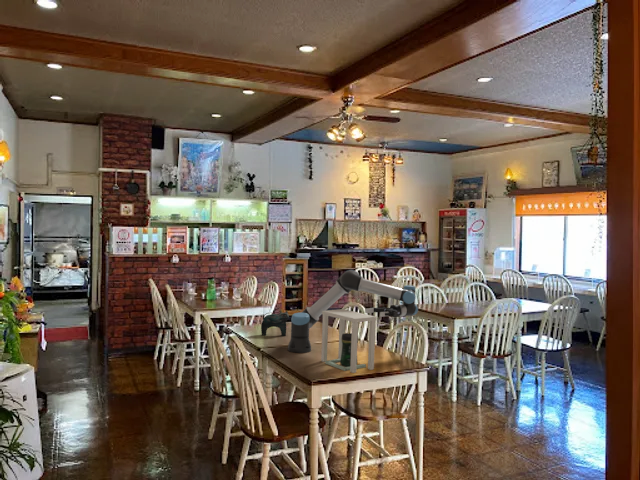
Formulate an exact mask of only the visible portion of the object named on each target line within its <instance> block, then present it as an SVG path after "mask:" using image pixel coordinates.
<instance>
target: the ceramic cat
mask: <svg viewBox="0 0 640 480" xmlns="http://www.w3.org/2000/svg"><path fill="white" fill-rule="evenodd" d="M276 310H279V313H278V314H277V313H273V312H272V313H270V314H269V312H266V313H265V314H264V315H263V317H262V321H261V324H260V325H261V326H260V332H261V336H264V337H265V336H267V332H268V329H270V328H273V327H274V328H279V330H280V334H281V335H280V336H281V337H286V336H287V321H288V320H289V318H290V317H289V313H288V310H286V311H285V312H282V311H281V310H280V307H277V308H276Z"/></svg>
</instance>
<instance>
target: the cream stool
mask: <svg viewBox="0 0 640 480" xmlns="http://www.w3.org/2000/svg"><path fill="white" fill-rule="evenodd" d="M329 317H331V318H337V319H339V329H338V330H339V331H338V354H337V355H338V357H337V358H336V359H335V358H334V359H329V360H328V339H329V336H328V335H329ZM346 321H348V322H351V333H352V337H351V365H350V366H342V365H341V364H337V363H340V361H341V354H342V335H343V334H346V332H345V331H346V330H345V329H346ZM376 321H377V316H374V315H370V314H368V313H362V312H357V311H352V310H348V309H344V308H341V309H340V308H339V309H329V310H328V309H327V310H326V311H322V327H321V328H322V329H321V351H320V352H321V359H320V360H321V362H322V363H325V365H328V366H331V367H334V368H336V369H339V370H341V371H344V372H346V371H349V372H350V373H352V374H355V373H357V369H363V368H367V369H368V370H369V371H372V370H374V369H375V349H376V348H375V346H376V343H375V341H376ZM361 322H369V325H368V327H369V330H368V350H367V352H368V355H367V365H366V364H365V363H363V364H358V343H357V341H358V342H359V323H361Z"/></svg>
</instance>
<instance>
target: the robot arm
mask: <svg viewBox="0 0 640 480" xmlns="http://www.w3.org/2000/svg"><path fill="white" fill-rule="evenodd" d="M351 291H356V292H360V291H362V292H366V293H370V294H374V295H377V296H381V297H385V298H388V299H389V298H390V299H393V300H396V301H400V302H402V303H401V304H392V305H391V306H390V307H373V306H372V307H370V308H364V314H374V313H379V317H380V318H382V317H383V318H385V317H393V318H402V317H407V316H415V315H417V314H418V312H419V308H418V307H419V306H418V305H417V304H416V286H414V285H406V284H405V285H404V286H403V288H401V287H397V286H392V285H389V284H385V283H380V282H377V281H374V280H370V279H366V278H364V276H361V275H360V274H359V273H358V272H357V271H356V270H354V269H348V270H346V271H345V272H343V273H342V275H340V276H339V277H338V279H336V281H335V284H334V285H333V286H332V287H331V288H330V289H329V290H327V292H325V293H324V294H323V295H322V296H321V297H320V298H319V299H318V300H316V301H315V302H314V303H313V304H312V305H311V306H307V307H306V308H304V310H302V311H301V312H295V313H293V314H292V315H291V321H290V323H291V324H290V325H291V326H290V339H289V343H288V346H287V351H288V352H291V353H298V354H300V353H302V354H304V353H309V352H311V351H312V345H311V341H310V329H312V327H313V326H314V325H315V324H316V323H317V322H319V320H320V317H321V316H323V314H322V311H327V310H328V309H330V307H332V306H333V305H334V304H335V303H336V302H337V301H338V300H339V299H341V298H342V296H344V295H345V294H349V293H350V292H351Z"/></svg>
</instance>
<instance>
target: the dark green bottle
mask: <svg viewBox="0 0 640 480" xmlns="http://www.w3.org/2000/svg"><path fill="white" fill-rule="evenodd" d="M351 337H352V332H350V333H345V334H343V335H342V354H341V361H340V362H339V365H341V366H343V367H349V366H350V365H351ZM357 344H359V340H358V341H357Z"/></svg>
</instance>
